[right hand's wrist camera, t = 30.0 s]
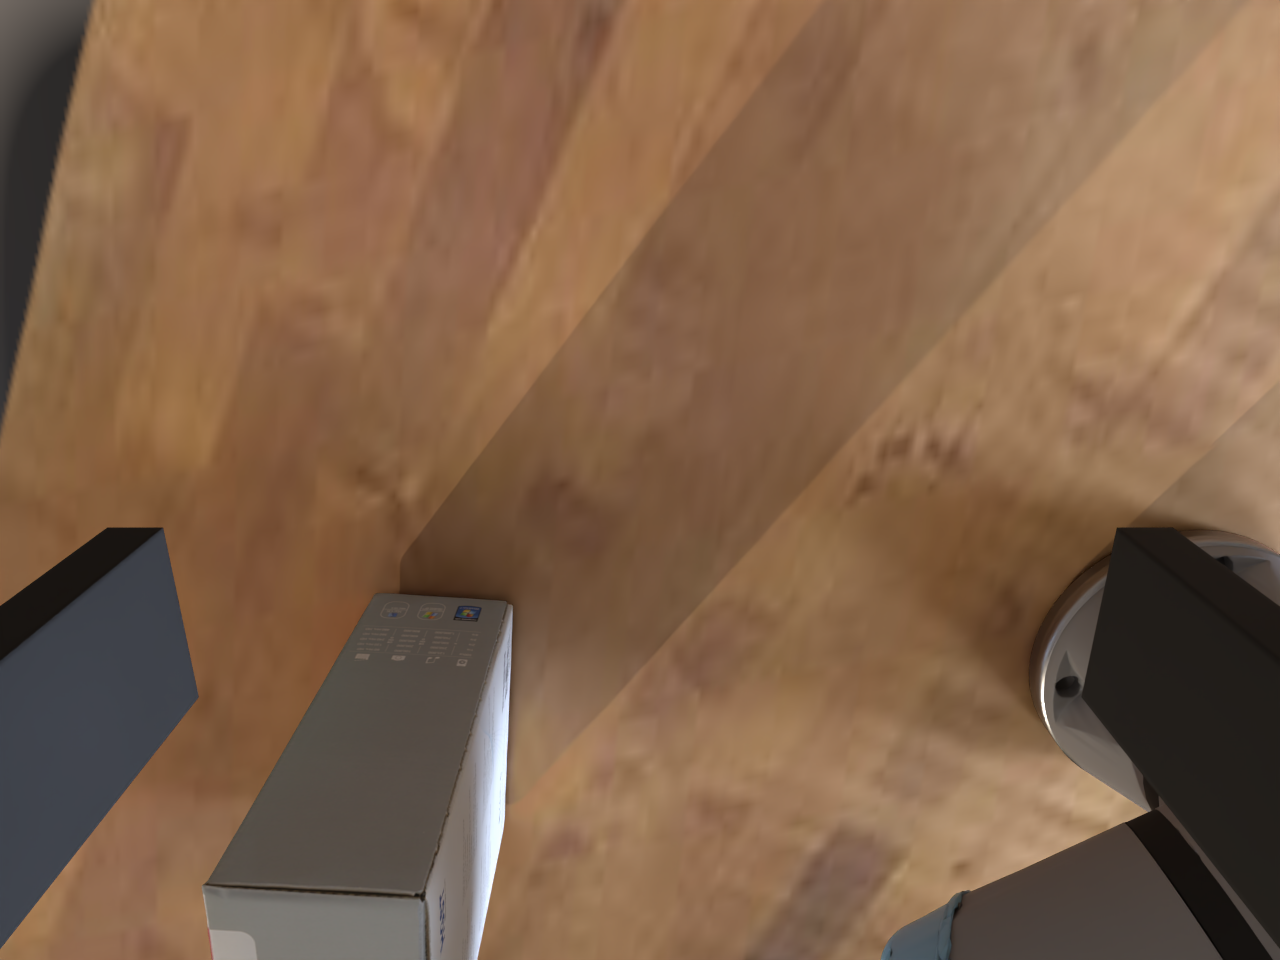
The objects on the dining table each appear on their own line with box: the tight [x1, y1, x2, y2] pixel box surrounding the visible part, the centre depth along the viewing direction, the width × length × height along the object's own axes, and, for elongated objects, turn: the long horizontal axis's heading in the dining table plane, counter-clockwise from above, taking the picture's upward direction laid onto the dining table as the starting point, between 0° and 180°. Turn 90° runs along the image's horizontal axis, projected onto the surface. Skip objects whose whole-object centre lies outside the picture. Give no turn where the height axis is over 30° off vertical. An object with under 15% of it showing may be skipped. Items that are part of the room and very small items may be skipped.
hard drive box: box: [202, 593, 513, 960], centre depth 41 cm, size 16×8×20 cm, turn 176°
